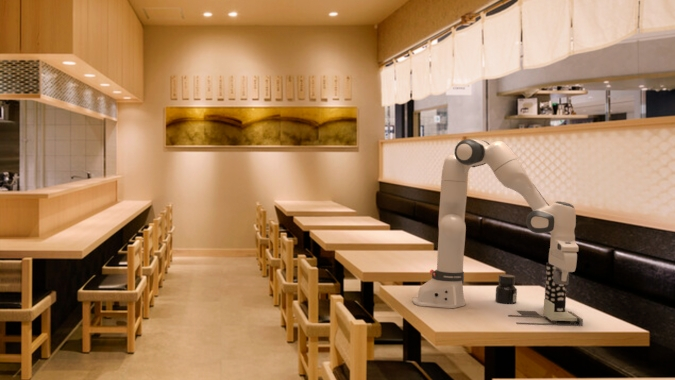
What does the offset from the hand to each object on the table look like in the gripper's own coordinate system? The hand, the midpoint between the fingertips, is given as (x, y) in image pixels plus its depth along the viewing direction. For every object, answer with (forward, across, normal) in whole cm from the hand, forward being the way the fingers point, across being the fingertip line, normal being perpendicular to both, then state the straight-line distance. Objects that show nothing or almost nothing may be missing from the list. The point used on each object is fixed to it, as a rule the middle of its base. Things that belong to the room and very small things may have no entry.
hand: (560, 279), depth 249 cm
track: (+17, 0, -6) cm, 18 cm away
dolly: (+17, 0, 0) cm, 17 cm away
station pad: (+17, -12, -8) cm, 22 cm away
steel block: (+2, 0, 0) cm, 2 cm away
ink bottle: (+17, -32, -12) cm, 38 cm away
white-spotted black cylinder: (+17, -19, +5) cm, 26 cm away
